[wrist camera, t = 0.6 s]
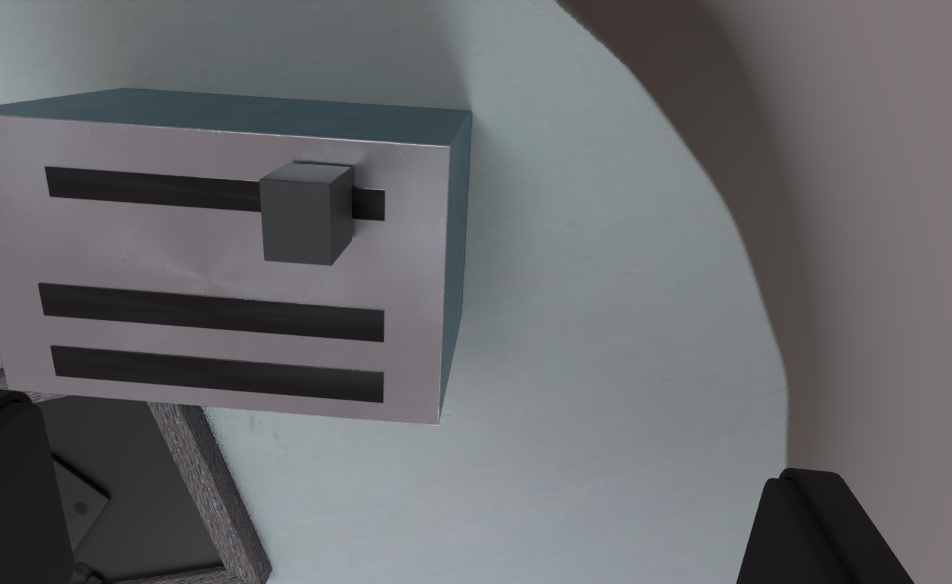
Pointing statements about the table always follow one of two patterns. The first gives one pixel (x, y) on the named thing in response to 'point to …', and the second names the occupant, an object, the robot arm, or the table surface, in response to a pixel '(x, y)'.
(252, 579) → the picture frame
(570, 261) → the table surface
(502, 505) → the table surface
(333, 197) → the block
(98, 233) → the toaster
